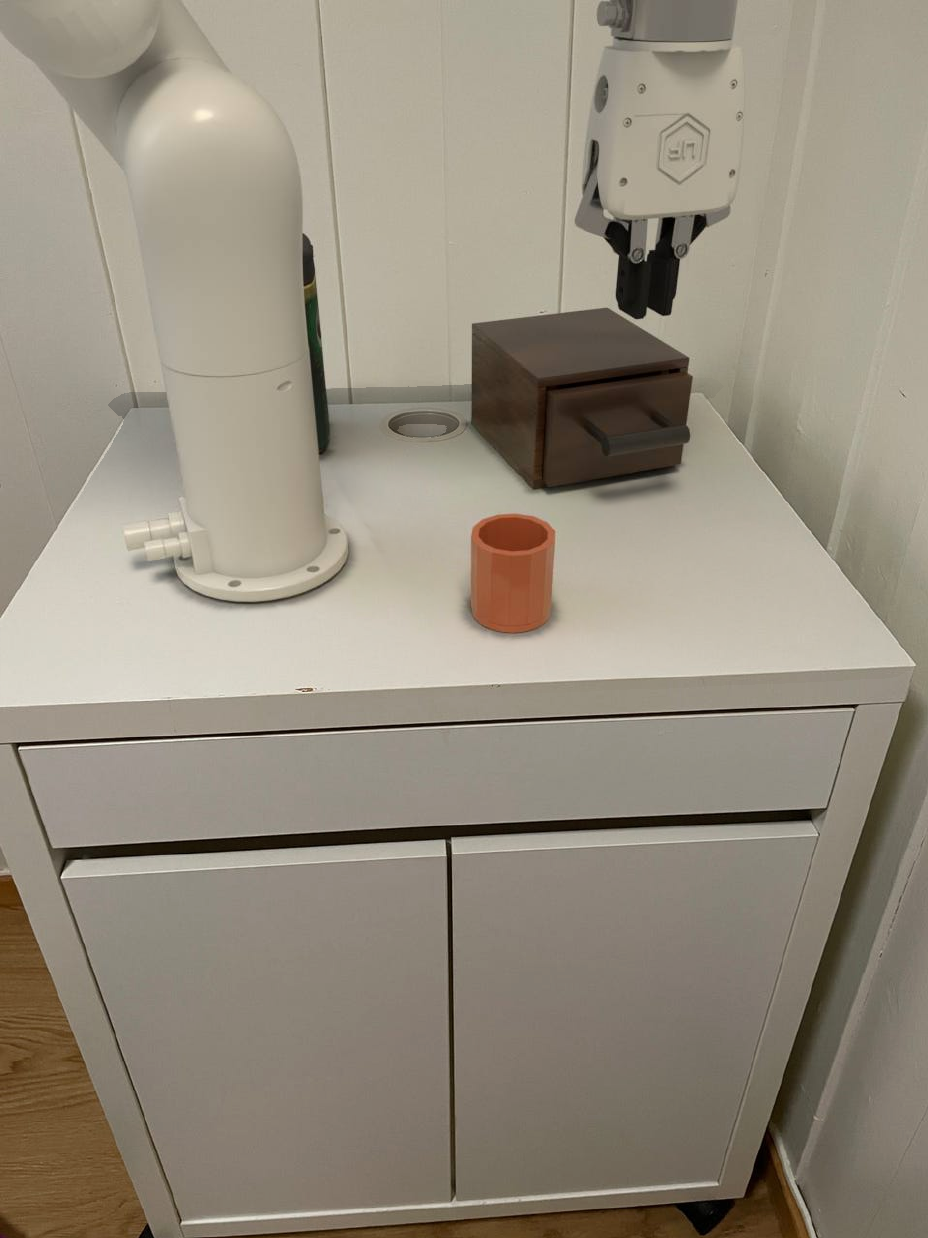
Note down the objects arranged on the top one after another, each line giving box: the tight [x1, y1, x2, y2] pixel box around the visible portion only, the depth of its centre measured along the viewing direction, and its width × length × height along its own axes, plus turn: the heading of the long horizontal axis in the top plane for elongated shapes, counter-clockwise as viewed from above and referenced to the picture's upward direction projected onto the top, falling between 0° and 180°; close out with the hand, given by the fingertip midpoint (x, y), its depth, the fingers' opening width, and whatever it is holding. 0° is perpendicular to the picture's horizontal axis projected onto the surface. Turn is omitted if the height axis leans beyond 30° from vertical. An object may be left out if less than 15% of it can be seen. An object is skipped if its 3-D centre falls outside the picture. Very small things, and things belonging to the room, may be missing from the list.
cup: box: [470, 513, 556, 634], centre depth 65 cm, size 5×6×6 cm
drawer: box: [542, 370, 694, 488], centre depth 83 cm, size 18×12×8 cm
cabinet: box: [470, 307, 690, 490], centre depth 86 cm, size 15×14×10 cm
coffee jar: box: [302, 232, 331, 453], centre depth 84 cm, size 10×8×19 cm
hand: (644, 310), depth 72 cm, fingers closed
